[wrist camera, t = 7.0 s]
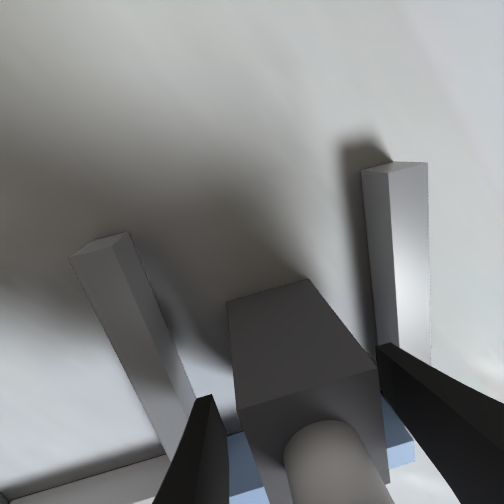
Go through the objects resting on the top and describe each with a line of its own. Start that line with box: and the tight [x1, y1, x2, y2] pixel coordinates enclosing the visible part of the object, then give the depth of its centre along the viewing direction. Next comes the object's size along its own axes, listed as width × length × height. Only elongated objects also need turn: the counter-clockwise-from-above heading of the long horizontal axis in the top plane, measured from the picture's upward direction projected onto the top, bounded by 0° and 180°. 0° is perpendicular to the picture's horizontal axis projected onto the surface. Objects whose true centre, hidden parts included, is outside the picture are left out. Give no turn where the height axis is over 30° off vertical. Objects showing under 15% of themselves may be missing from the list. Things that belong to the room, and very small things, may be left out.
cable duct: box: [0, 162, 431, 504], centre depth 12 cm, size 14×24×3 cm, turn 103°
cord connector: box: [227, 279, 395, 504], centre depth 10 cm, size 5×4×8 cm
